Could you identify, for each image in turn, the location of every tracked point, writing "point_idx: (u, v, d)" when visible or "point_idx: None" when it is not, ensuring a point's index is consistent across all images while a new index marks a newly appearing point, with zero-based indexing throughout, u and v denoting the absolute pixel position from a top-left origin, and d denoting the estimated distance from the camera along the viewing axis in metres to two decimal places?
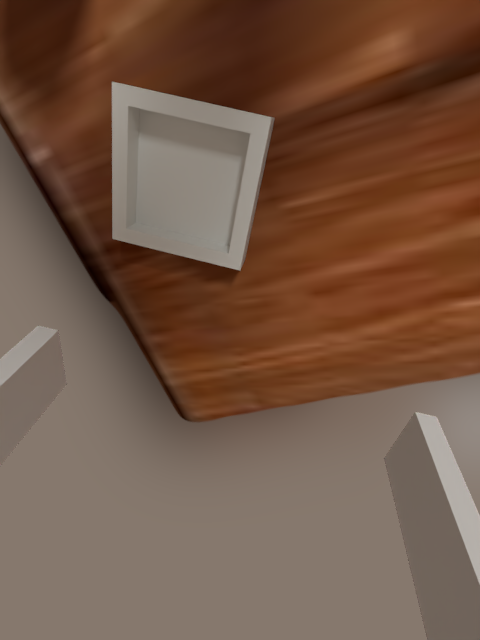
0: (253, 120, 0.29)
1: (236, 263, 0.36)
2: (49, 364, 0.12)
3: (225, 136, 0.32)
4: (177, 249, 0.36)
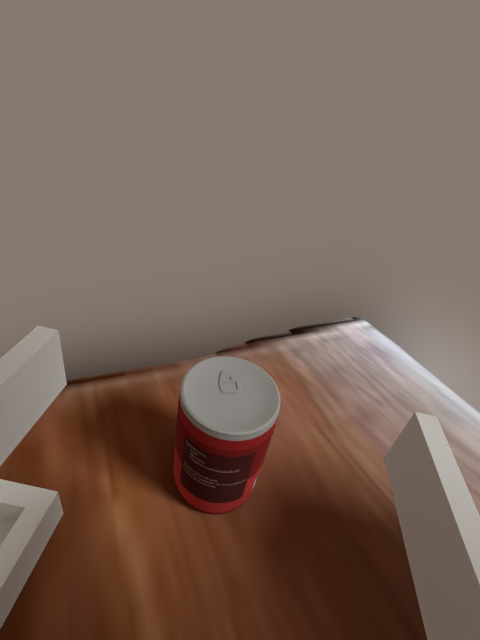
0: None
1: None
2: (49, 364, 0.12)
3: None
4: None
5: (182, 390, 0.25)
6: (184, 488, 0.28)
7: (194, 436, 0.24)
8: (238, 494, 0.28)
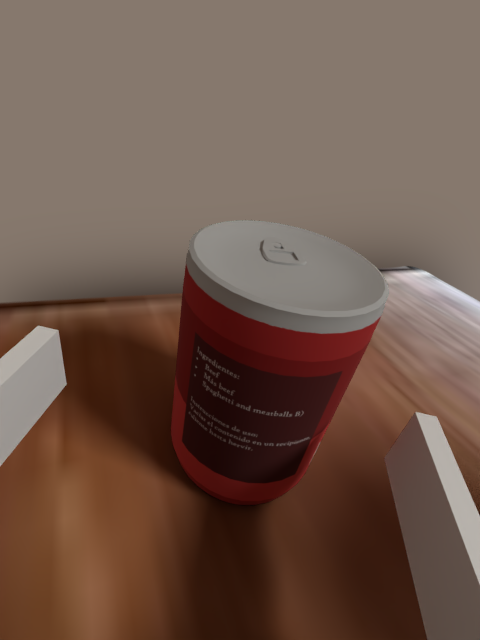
0: None
1: None
2: (49, 364, 0.12)
3: None
4: None
5: (192, 246, 0.12)
6: (189, 454, 0.15)
7: (216, 331, 0.11)
8: (290, 468, 0.15)
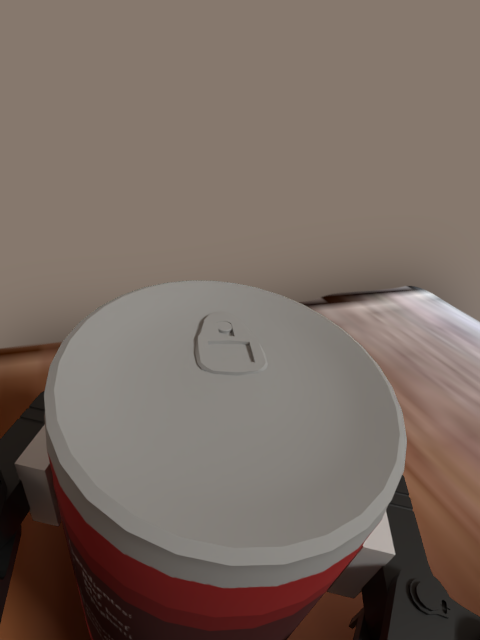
0: None
1: None
2: None
3: None
4: None
5: (58, 357, 0.07)
6: None
7: (81, 542, 0.06)
8: None
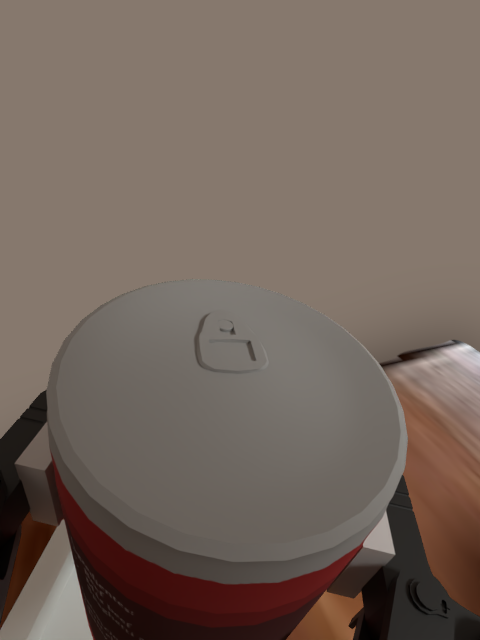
0: None
1: None
2: None
3: None
4: None
5: (60, 355, 0.07)
6: None
7: (83, 538, 0.06)
8: None
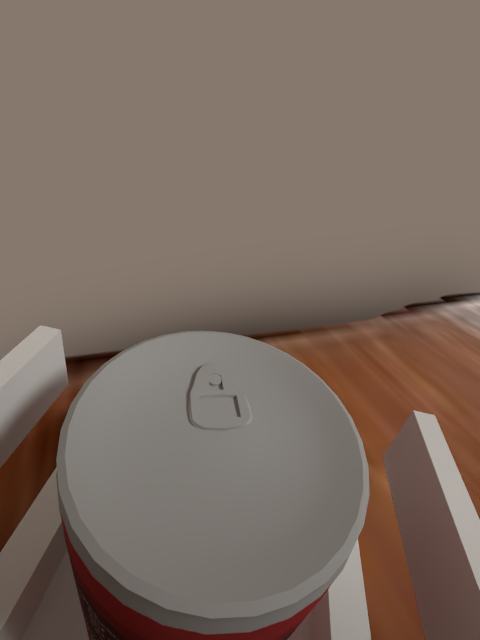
0: None
1: None
2: (51, 364, 0.12)
3: None
4: (32, 529, 0.14)
5: (68, 421, 0.08)
6: None
7: (87, 587, 0.07)
8: None
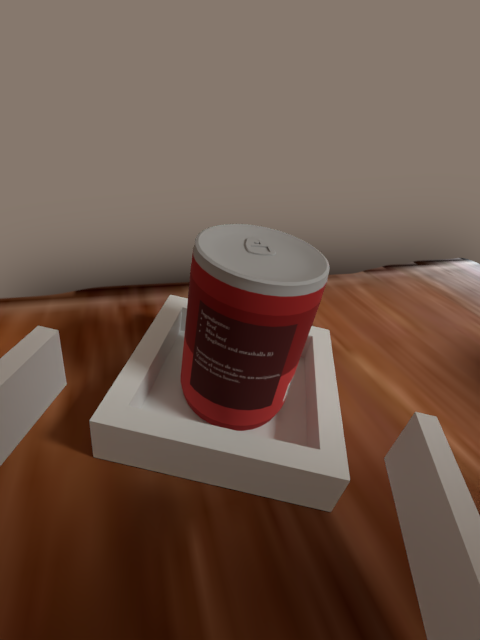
0: (337, 454, 0.19)
1: (106, 416, 0.19)
2: (49, 364, 0.12)
3: (295, 435, 0.23)
4: (147, 345, 0.24)
5: (197, 242, 0.18)
6: (195, 392, 0.21)
7: (213, 297, 0.17)
8: (267, 399, 0.21)
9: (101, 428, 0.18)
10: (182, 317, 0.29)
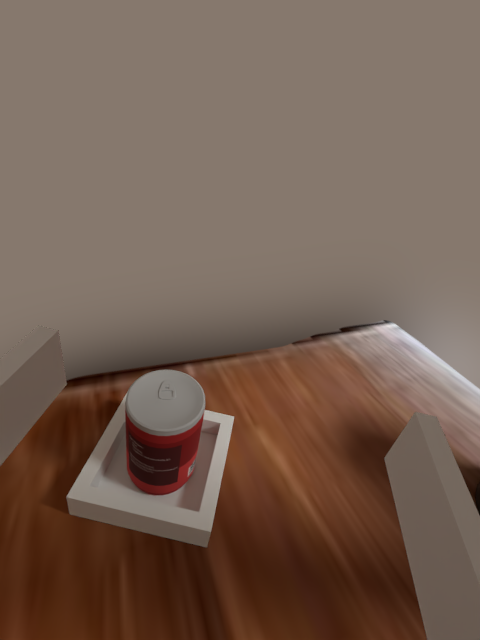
0: (209, 515, 0.33)
1: (75, 493, 0.33)
2: (49, 364, 0.12)
3: (195, 497, 0.37)
4: (106, 438, 0.38)
5: (127, 396, 0.33)
6: (131, 473, 0.36)
7: (133, 432, 0.32)
8: (173, 479, 0.35)
9: (73, 501, 0.33)
10: None
